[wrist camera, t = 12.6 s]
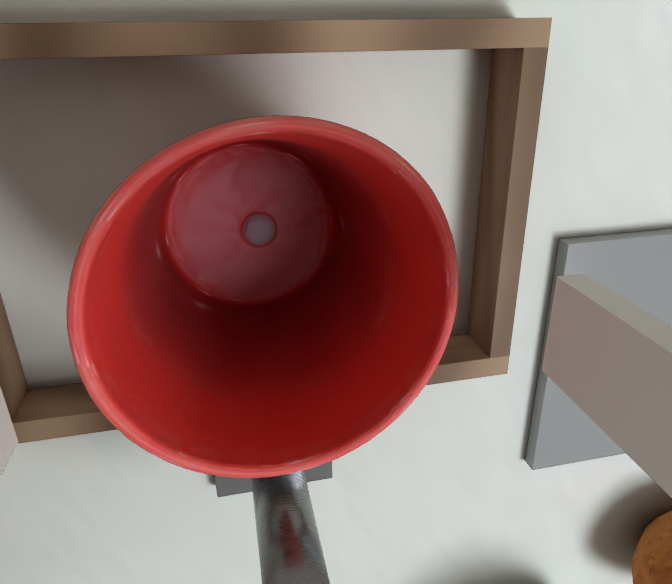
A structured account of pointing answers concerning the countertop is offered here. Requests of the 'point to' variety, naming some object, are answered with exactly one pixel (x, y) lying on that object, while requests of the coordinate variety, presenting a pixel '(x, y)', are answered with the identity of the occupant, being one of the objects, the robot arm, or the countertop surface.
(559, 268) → the plate
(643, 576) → the potato
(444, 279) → the flower pot
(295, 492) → the post
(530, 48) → the wooden tray
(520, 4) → the countertop surface
